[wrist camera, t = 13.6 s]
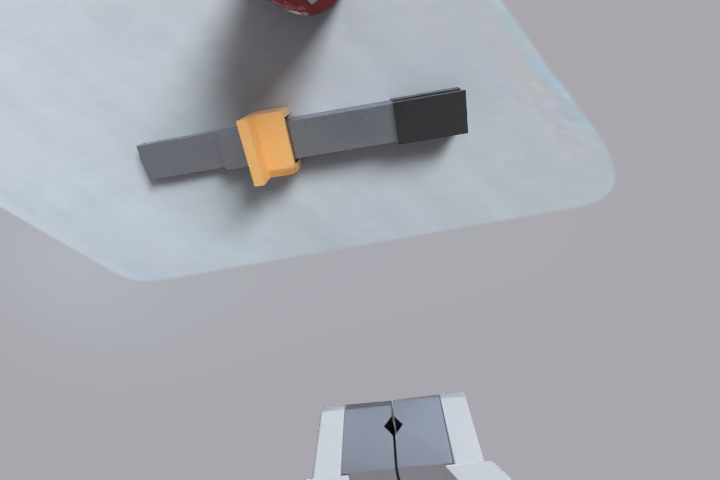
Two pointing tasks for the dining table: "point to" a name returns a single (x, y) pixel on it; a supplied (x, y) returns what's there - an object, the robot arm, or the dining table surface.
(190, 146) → the tongs
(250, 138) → the orange c-shaped bracket
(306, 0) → the soda can
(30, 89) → the dining table surface
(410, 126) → the tongs arm
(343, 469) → the robot arm
